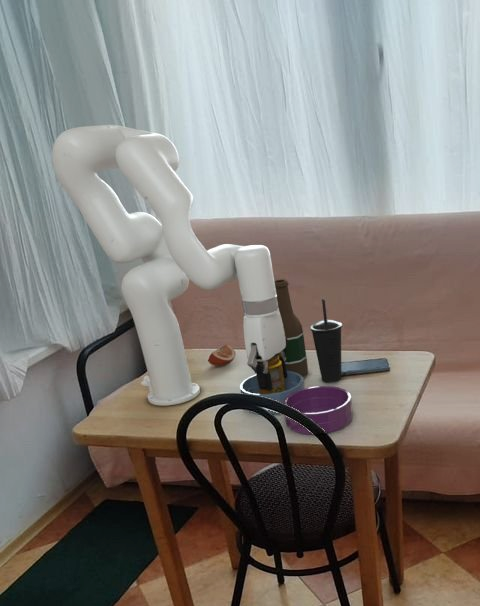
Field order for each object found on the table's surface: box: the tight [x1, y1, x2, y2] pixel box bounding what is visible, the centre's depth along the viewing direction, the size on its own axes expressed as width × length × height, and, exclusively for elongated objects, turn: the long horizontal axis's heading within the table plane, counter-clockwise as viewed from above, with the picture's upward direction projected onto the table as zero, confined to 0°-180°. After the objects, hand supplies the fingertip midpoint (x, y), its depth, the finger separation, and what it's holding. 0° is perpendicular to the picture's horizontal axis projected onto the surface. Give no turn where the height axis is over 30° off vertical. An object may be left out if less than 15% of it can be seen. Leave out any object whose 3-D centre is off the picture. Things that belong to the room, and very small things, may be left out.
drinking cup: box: [309, 298, 343, 384], centre depth 152 cm, size 8×8×20 cm
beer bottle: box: [274, 279, 309, 379], centre depth 155 cm, size 8×8×24 cm
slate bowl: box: [239, 371, 305, 415], centre depth 146 cm, size 14×14×5 cm
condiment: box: [255, 354, 285, 394], centre depth 143 cm, size 7×8×12 cm
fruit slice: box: [207, 343, 236, 367], centre depth 170 cm, size 8×7×5 cm
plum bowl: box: [283, 385, 354, 436], centre depth 135 cm, size 14×14×5 cm
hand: (273, 382), depth 144 cm, fingers closed on condiment, 6 cm apart
